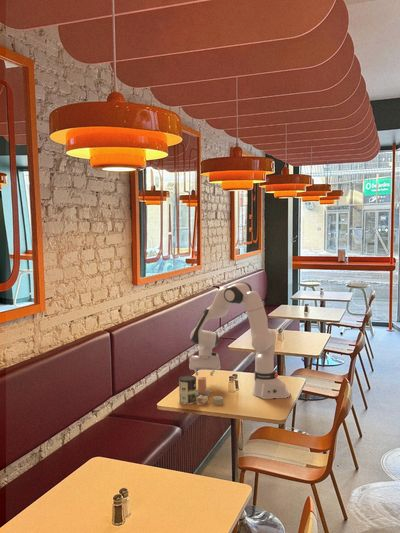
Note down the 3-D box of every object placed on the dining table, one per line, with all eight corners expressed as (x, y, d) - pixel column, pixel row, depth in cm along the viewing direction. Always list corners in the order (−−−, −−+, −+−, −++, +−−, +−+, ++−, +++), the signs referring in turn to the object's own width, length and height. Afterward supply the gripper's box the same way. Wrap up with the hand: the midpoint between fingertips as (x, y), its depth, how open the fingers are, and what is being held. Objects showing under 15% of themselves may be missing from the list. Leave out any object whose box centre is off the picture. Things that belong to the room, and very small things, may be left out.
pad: (210, 391, 306) (210, 390, 306) (208, 396, 297) (208, 395, 297) (195, 391, 307) (195, 390, 307) (193, 396, 298) (193, 395, 298)
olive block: (221, 401, 289) (221, 396, 289) (223, 404, 284) (223, 398, 284) (213, 402, 288) (213, 396, 288) (214, 405, 283) (214, 399, 283)
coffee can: (196, 398, 295) (196, 375, 294) (196, 404, 285) (196, 380, 284) (179, 398, 295) (179, 375, 294) (178, 404, 285) (178, 380, 284)
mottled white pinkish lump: (208, 402, 287) (208, 396, 287) (204, 405, 283) (204, 398, 283) (200, 401, 289) (200, 395, 289) (196, 404, 285) (196, 397, 284)
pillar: (206, 391, 304) (206, 377, 303) (205, 394, 300) (205, 379, 299) (199, 391, 305) (198, 377, 304) (198, 393, 300) (197, 379, 299)
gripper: (189, 353, 321) (187, 372, 312) (220, 353, 319) (219, 373, 310) (190, 358, 326) (188, 377, 317) (220, 358, 324) (220, 377, 315)
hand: (204, 375), depth 314 cm, fingers open, 8 cm apart
